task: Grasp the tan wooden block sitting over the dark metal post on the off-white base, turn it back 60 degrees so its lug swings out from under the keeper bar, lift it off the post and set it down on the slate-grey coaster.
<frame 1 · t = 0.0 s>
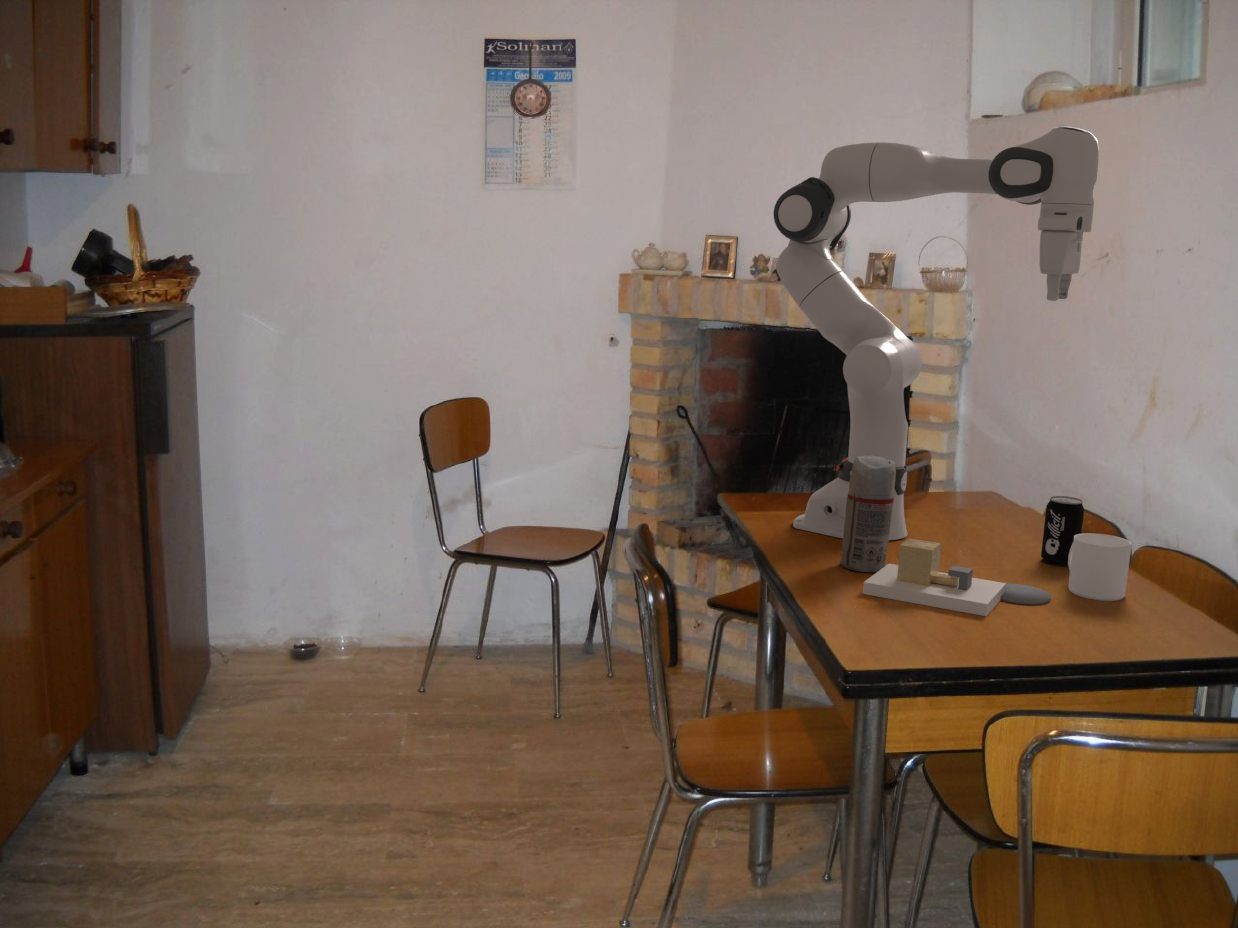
hand: (1057, 299, 216), 48 cm above the table, fingers open, 8 cm apart
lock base: (934, 594, 199), on the table
slate coaster: (1018, 595, 200), on the table
beverage can: (1059, 563, 223), on the table
tan wooden block: (917, 579, 200), point 2 cm above the table, touching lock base
spray can: (863, 568, 214), on the table
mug: (1091, 591, 205), on the table
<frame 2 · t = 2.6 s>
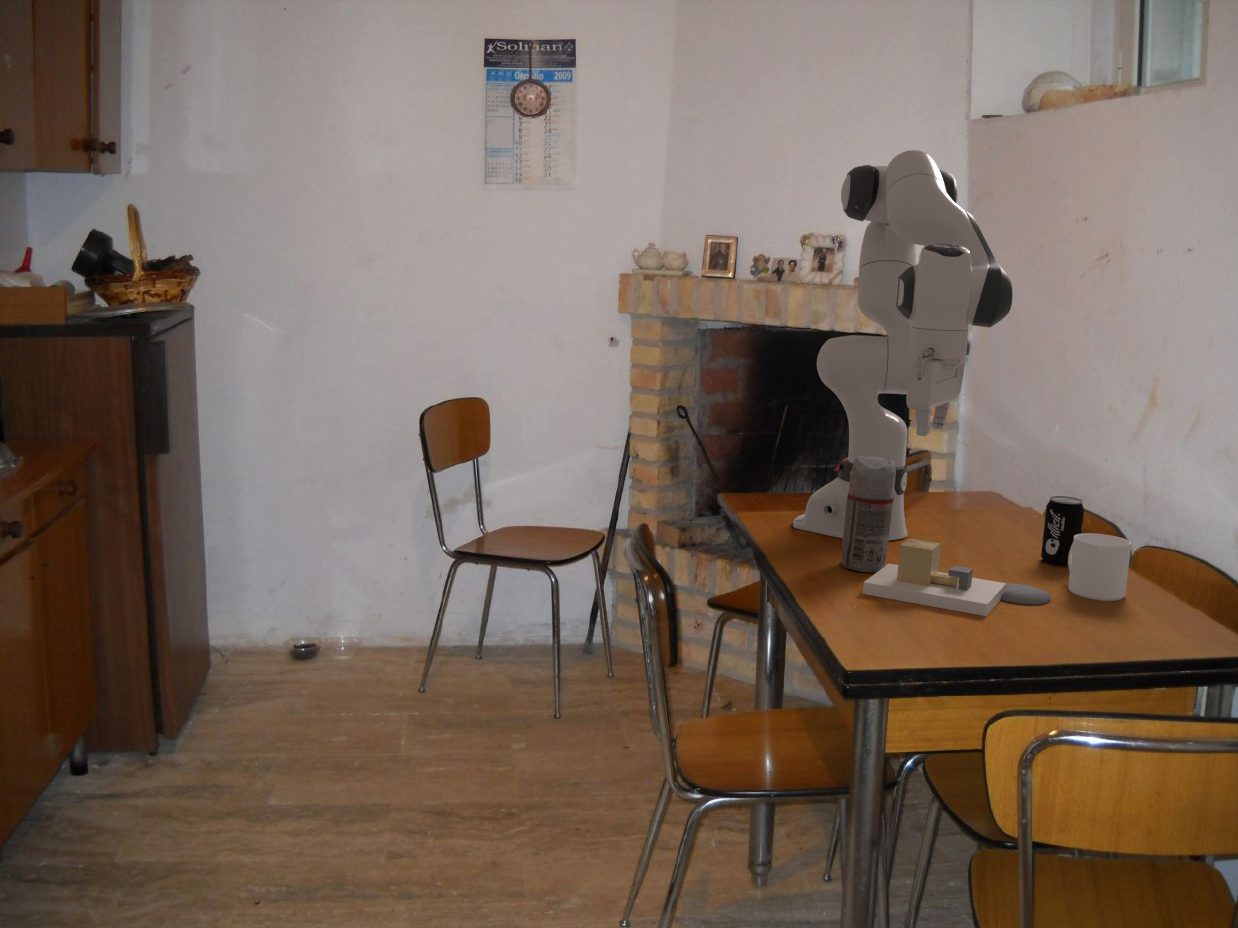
hand: (930, 431, 196), 27 cm above the table, fingers open, 8 cm apart
nothing on the table moved.
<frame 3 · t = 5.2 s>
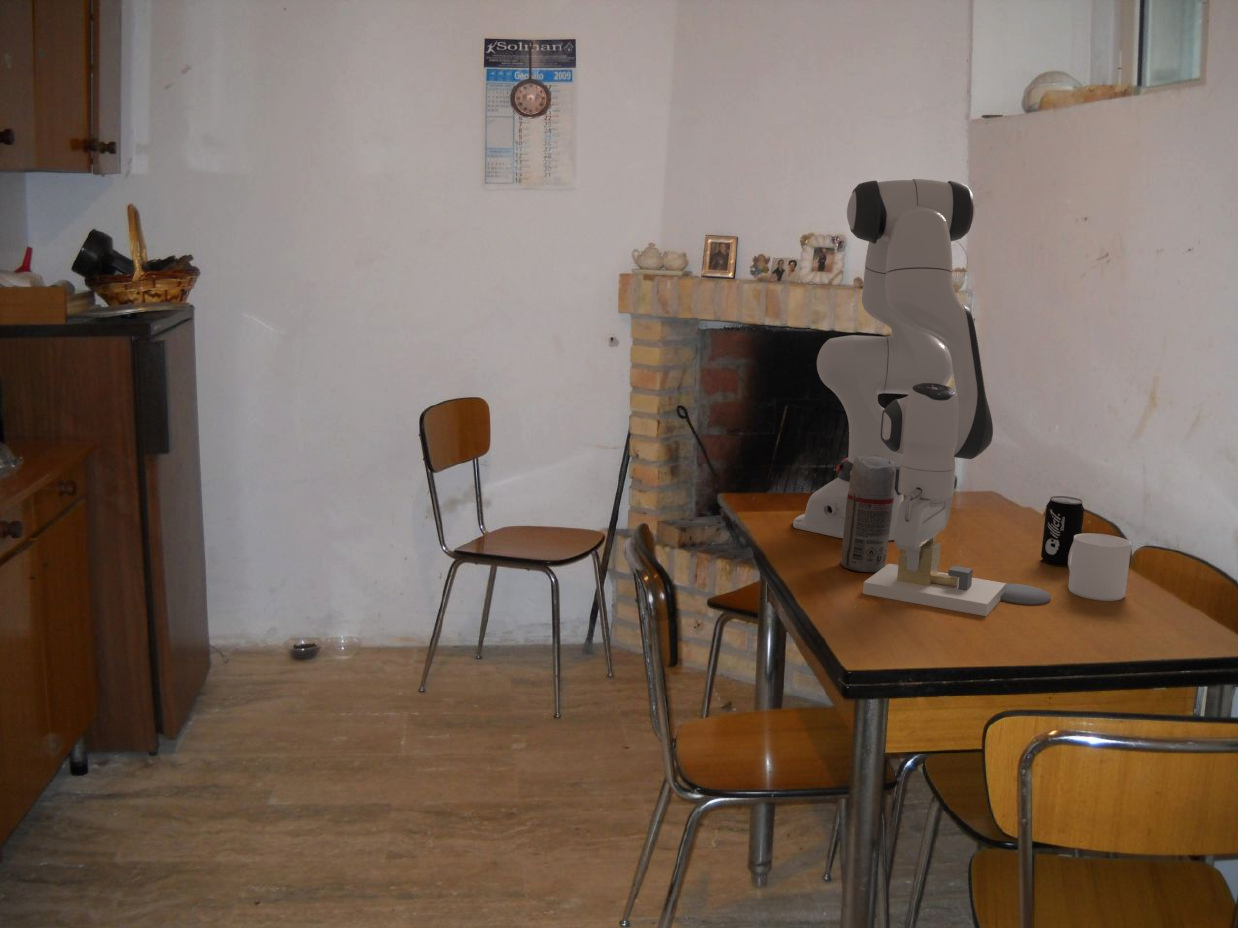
hand: (918, 564, 200), 5 cm above the table, fingers closed on tan wooden block, 5 cm apart
tan wooden block: (917, 579, 200), point 2 cm above the table, touching gripper, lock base
everything else where it was.
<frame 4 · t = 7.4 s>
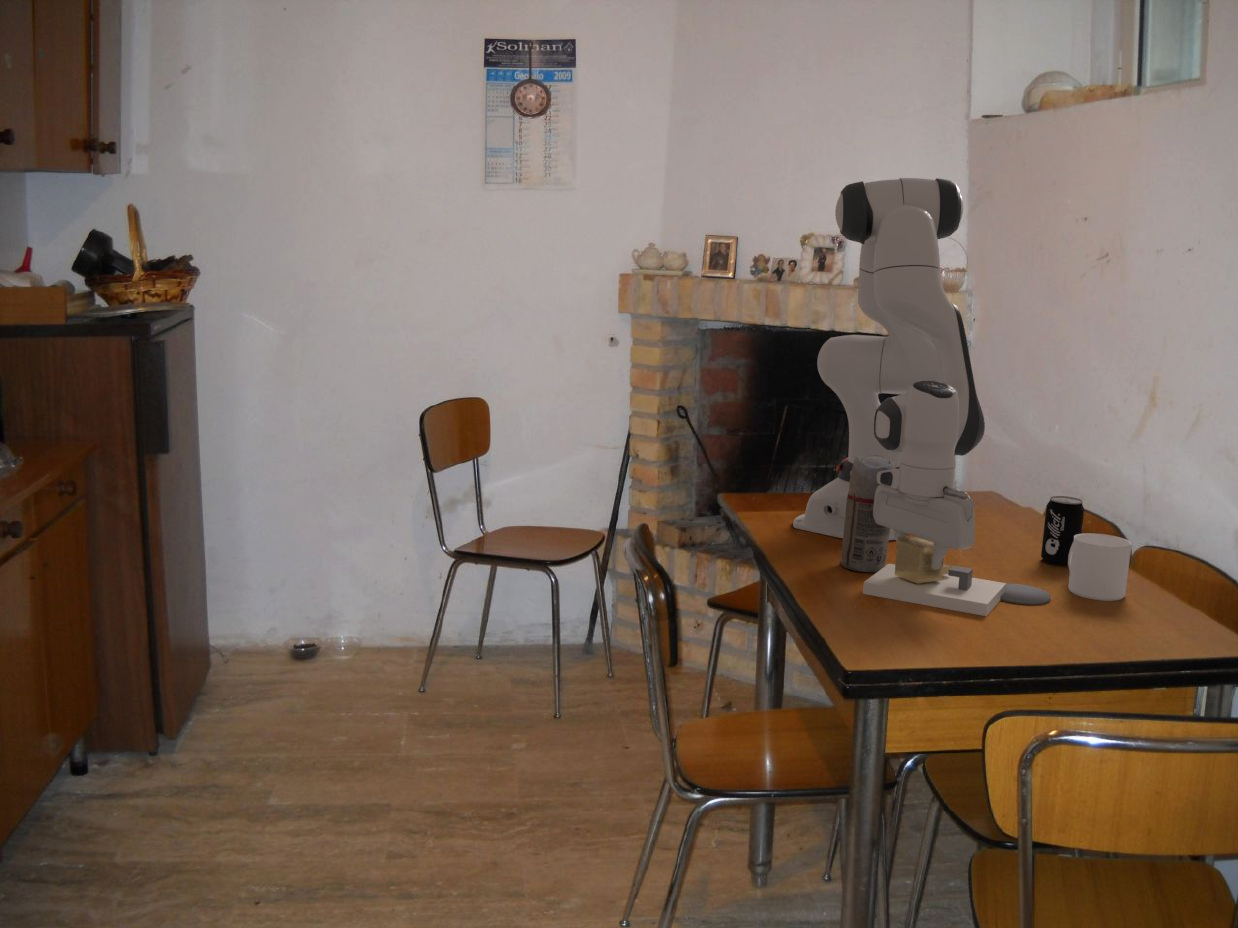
hand: (919, 562, 200), 5 cm above the table, fingers closed on tan wooden block, 5 cm apart
tan wooden block: (917, 577, 200), point 2 cm above the table, touching gripper
everything else where it was.
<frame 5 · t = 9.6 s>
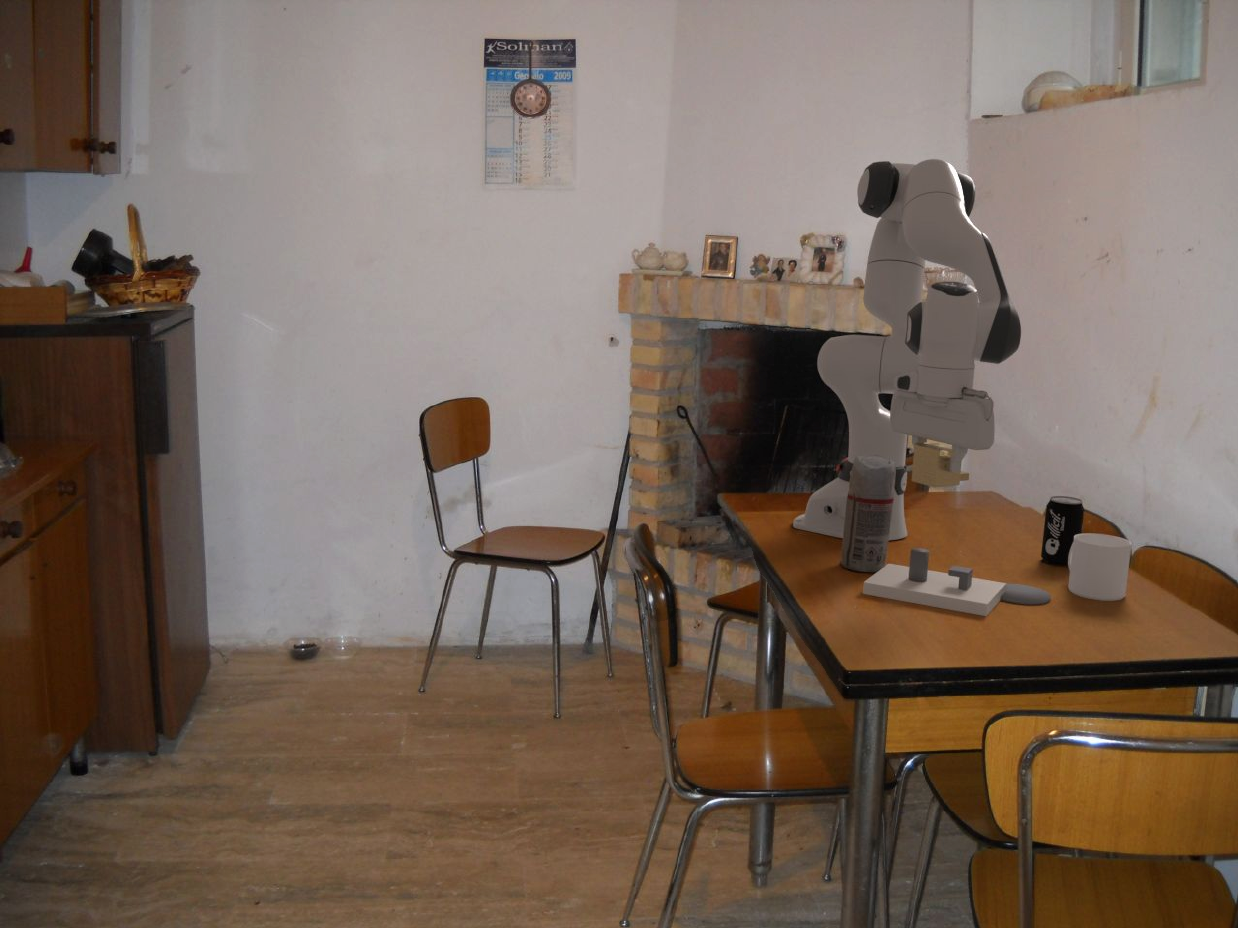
hand: (936, 468, 197), 21 cm above the table, fingers closed on tan wooden block, 5 cm apart
tan wooden block: (935, 483, 197), point 19 cm above the table, touching gripper
everything else where it was.
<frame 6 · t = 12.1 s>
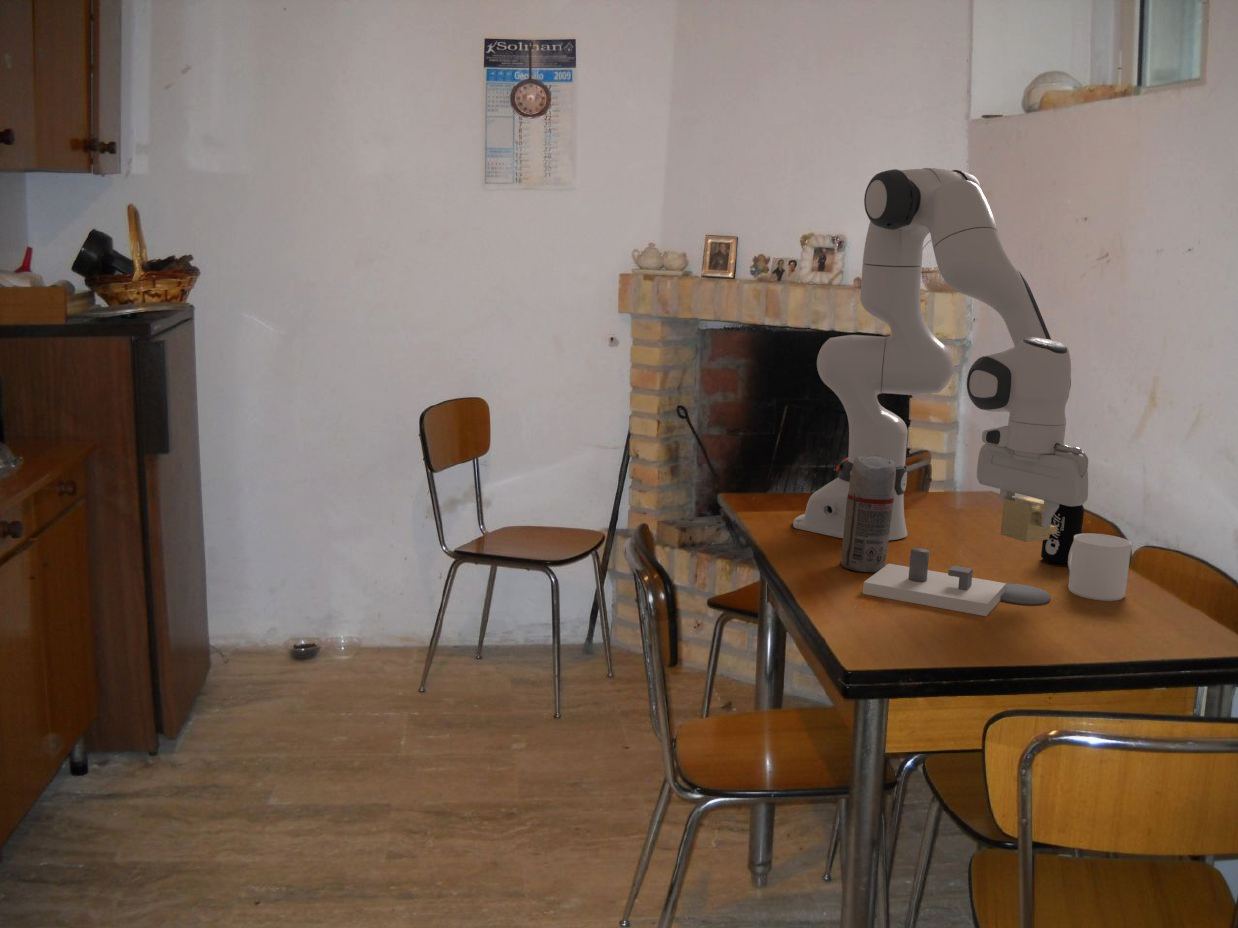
hand: (1026, 522, 198), 13 cm above the table, fingers closed on tan wooden block, 5 cm apart
tan wooden block: (1024, 536, 198), point 10 cm above the table, touching gripper
everything else where it was.
when the fingers open (4 cm above the table, at t = 14.1 s): tan wooden block stays where it is, resting on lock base, slate coaster.
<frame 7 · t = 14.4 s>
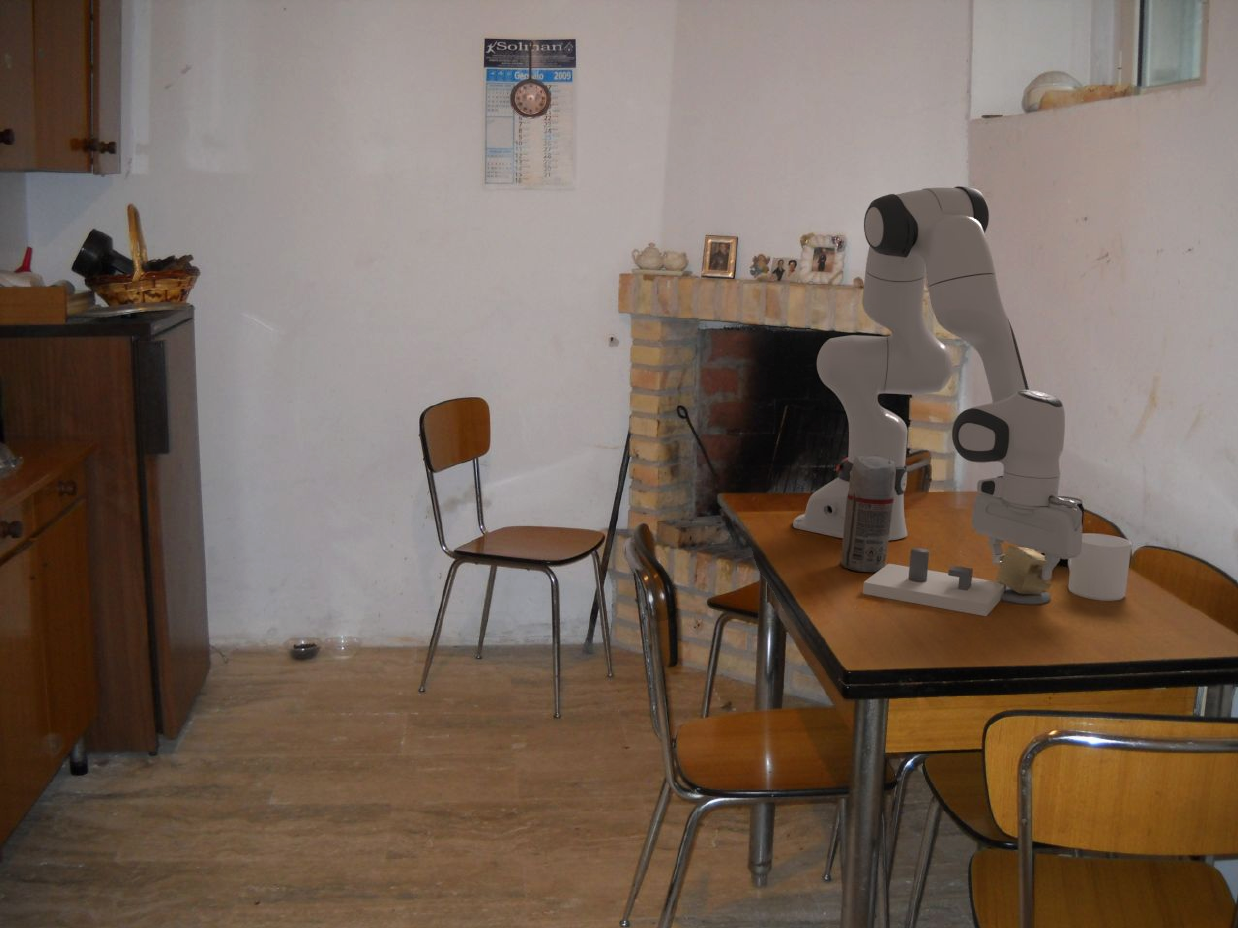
hand: (1021, 571, 200), 4 cm above the table, fingers open, 8 cm apart
tan wooden block: (1018, 587, 200), point 1 cm above the table, tilted 14°, touching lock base, slate coaster
everything else where it was.
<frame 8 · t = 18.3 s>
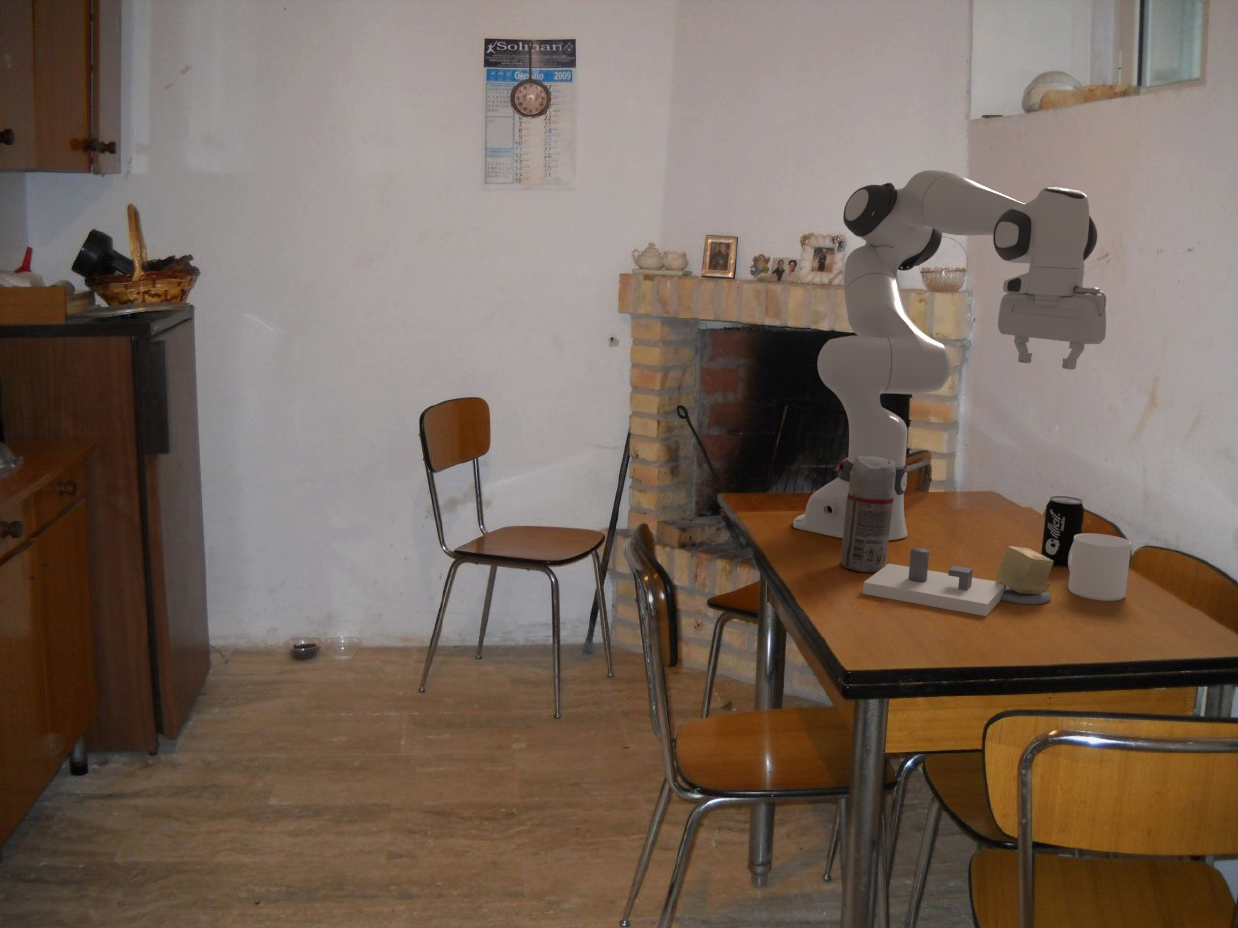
hand: (1046, 365, 207), 37 cm above the table, fingers open, 8 cm apart
nothing on the table moved.
at the end: tan wooden block inside the target area on the slate coaster (0.4 cm from its centre), point 1.5 cm above the slate coaster's base; tan wooden block tilted 13°; the gripper is holding nothing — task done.
